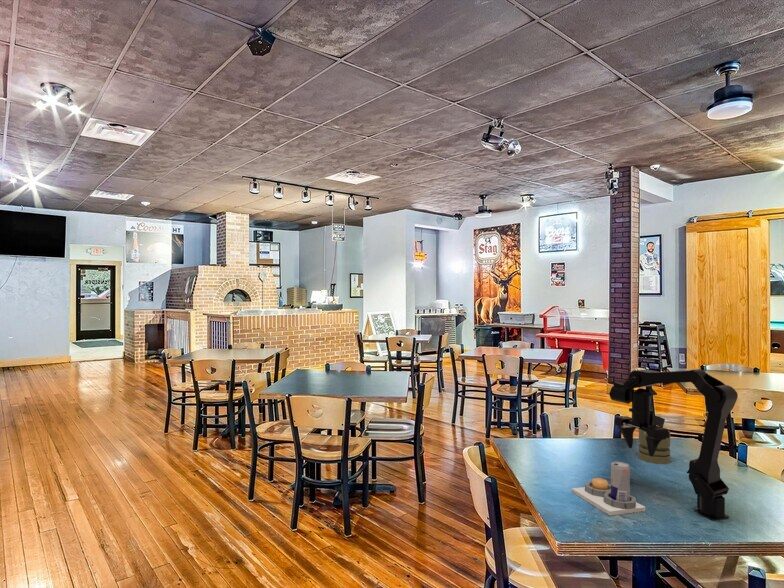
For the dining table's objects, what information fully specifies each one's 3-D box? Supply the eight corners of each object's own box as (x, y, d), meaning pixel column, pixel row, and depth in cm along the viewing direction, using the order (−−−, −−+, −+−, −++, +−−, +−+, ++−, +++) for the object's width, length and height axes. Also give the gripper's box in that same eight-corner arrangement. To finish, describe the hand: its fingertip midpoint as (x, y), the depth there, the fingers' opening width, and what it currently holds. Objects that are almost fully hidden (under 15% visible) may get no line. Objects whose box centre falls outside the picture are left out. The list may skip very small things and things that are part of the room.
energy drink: (613, 497, 152) (613, 460, 152) (631, 502, 148) (631, 463, 148) (608, 503, 147) (608, 464, 148) (627, 508, 144) (627, 468, 144)
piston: (665, 435, 186) (634, 429, 194) (665, 466, 186) (634, 459, 193) (673, 430, 194) (643, 425, 202) (673, 459, 194) (643, 453, 202)
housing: (645, 511, 145) (645, 495, 145) (609, 515, 141) (609, 499, 142) (604, 488, 162) (604, 474, 162) (571, 492, 159) (571, 477, 159)
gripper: (683, 411, 156) (682, 459, 156) (638, 399, 174) (638, 442, 174) (655, 413, 153) (655, 461, 153) (613, 401, 171) (613, 444, 171)
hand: (640, 452), depth 163 cm, fingers open, 9 cm apart
